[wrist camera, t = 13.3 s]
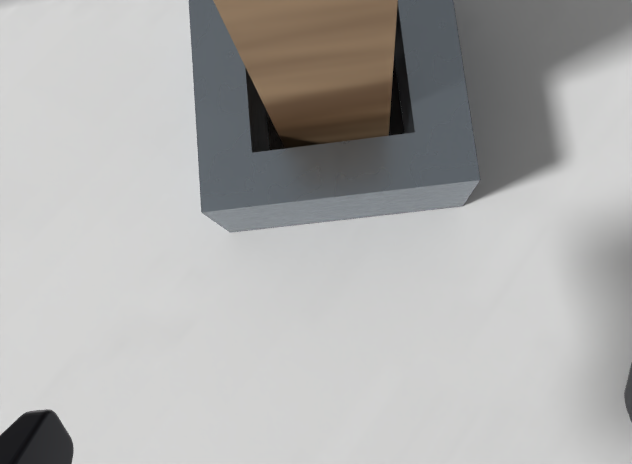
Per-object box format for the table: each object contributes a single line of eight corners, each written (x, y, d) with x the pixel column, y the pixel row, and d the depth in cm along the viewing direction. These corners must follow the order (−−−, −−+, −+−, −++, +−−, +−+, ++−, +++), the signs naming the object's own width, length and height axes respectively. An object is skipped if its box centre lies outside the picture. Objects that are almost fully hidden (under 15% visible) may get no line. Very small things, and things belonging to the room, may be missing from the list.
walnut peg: (387, 149, 24) (402, -66, 11) (291, 161, 24) (195, -35, 11) (376, 58, 24) (377, -241, 12) (283, 71, 25) (185, -207, 12)
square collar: (462, 206, 23) (480, 179, 19) (230, 232, 24) (201, 212, 20) (431, -9, 25) (442, -73, 21) (215, 22, 25) (187, -34, 22)
